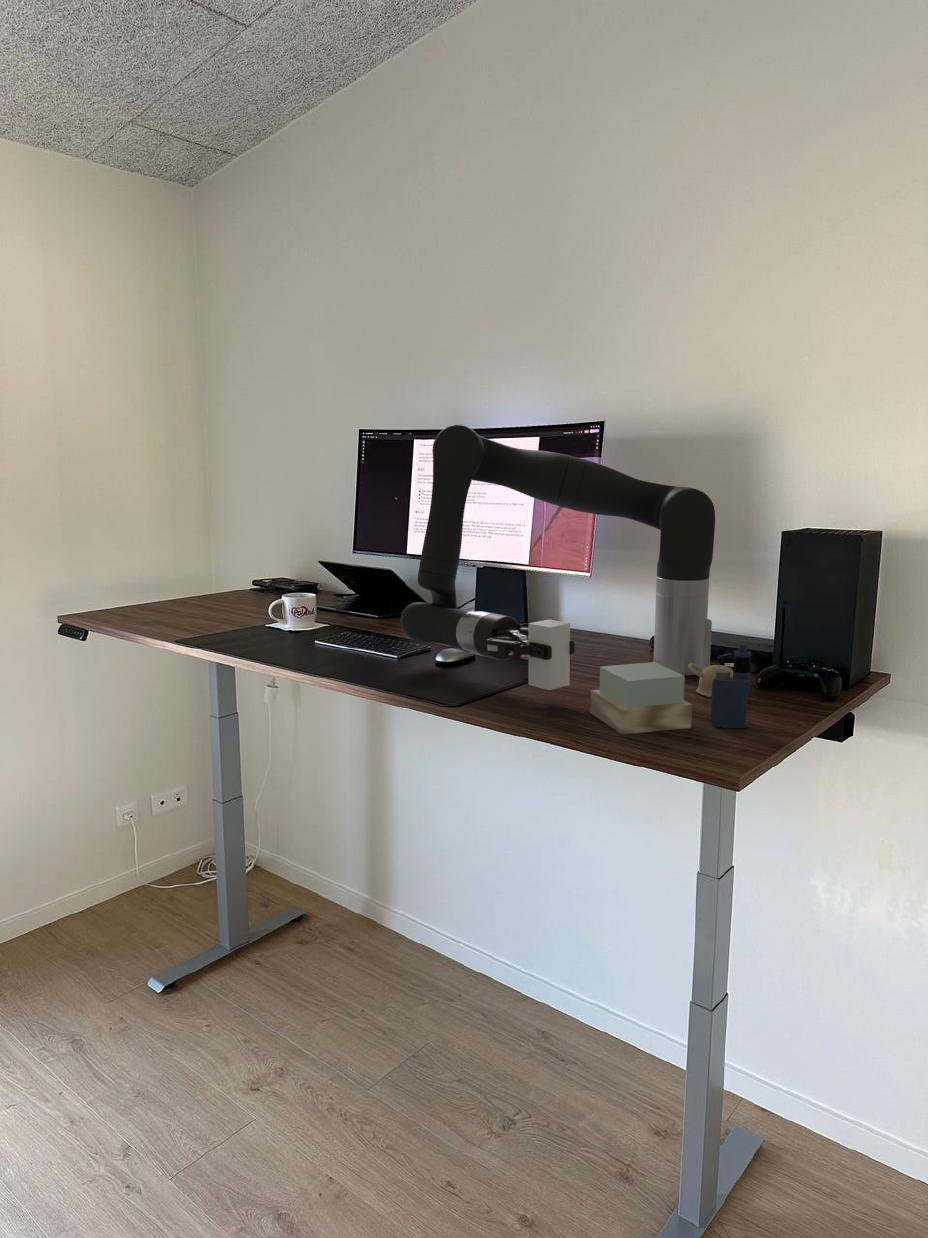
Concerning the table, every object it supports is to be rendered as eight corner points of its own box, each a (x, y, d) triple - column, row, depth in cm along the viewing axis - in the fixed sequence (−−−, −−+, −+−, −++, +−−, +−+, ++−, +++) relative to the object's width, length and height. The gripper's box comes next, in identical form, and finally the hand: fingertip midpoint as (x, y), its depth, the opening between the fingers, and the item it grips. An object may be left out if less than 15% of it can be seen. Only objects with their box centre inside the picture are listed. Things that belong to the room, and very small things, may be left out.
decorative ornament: (740, 700, 137) (742, 668, 136) (686, 697, 139) (688, 665, 138) (739, 694, 140) (741, 662, 139) (686, 690, 143) (688, 659, 142)
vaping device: (748, 730, 122) (753, 648, 119) (710, 727, 123) (714, 646, 120) (746, 724, 124) (751, 644, 122) (709, 722, 125) (713, 642, 123)
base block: (654, 709, 133) (655, 685, 132) (690, 731, 123) (692, 704, 122) (589, 715, 130) (590, 690, 130) (621, 737, 120) (622, 710, 119)
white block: (548, 679, 138) (548, 619, 136) (569, 685, 135) (569, 623, 133) (528, 684, 135) (528, 623, 134) (549, 690, 132) (549, 627, 130)
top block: (652, 687, 131) (653, 662, 130) (683, 702, 122) (684, 675, 122) (599, 692, 128) (600, 666, 128) (627, 708, 120) (627, 681, 119)
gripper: (455, 618, 140) (529, 633, 127) (518, 607, 149) (592, 620, 136) (456, 663, 141) (529, 682, 128) (518, 649, 150) (592, 666, 137)
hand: (561, 650), depth 132 cm, fingers closed on white block, 4 cm apart
